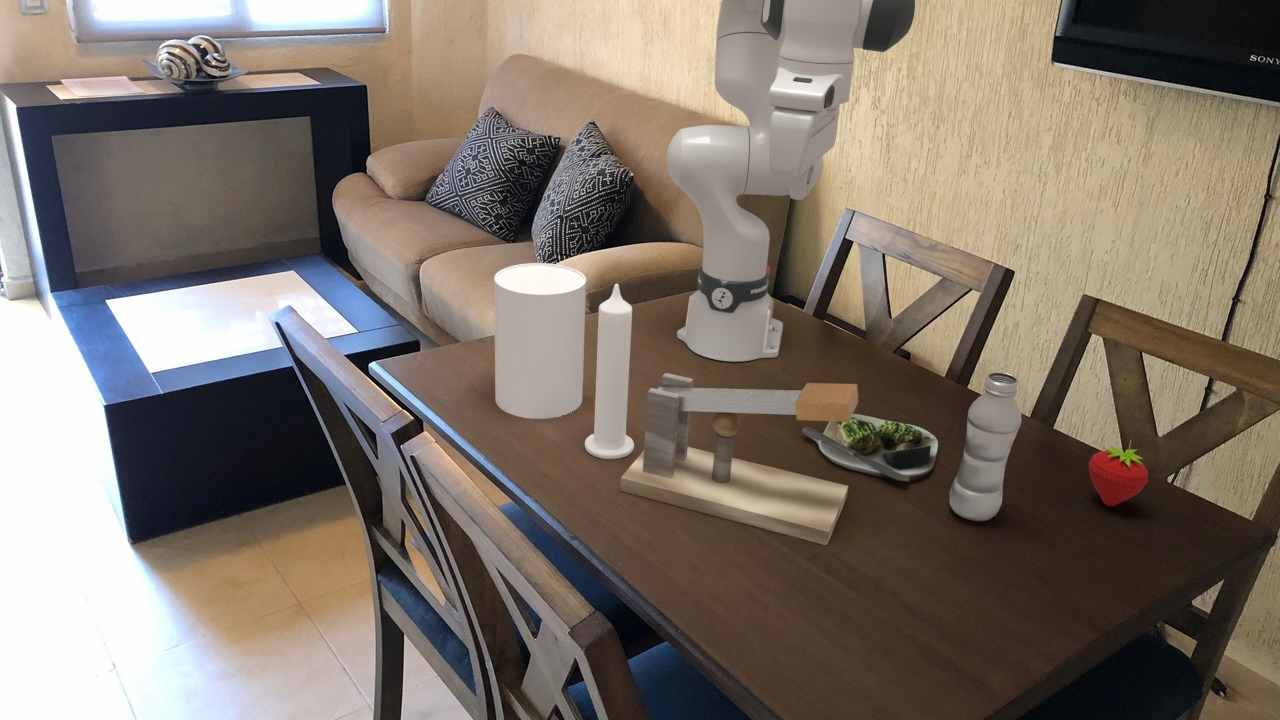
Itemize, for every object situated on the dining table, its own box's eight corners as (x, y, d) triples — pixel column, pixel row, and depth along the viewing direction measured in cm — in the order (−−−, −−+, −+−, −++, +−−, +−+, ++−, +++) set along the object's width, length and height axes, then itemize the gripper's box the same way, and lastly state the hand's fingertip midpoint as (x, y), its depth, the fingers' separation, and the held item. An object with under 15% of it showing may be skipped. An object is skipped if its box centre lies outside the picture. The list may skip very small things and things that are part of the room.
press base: (653, 450, 144) (659, 362, 138) (846, 498, 135) (861, 406, 129) (620, 490, 134) (625, 397, 128) (826, 545, 125) (842, 447, 119)
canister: (479, 407, 153) (477, 284, 145) (519, 373, 165) (519, 257, 157) (560, 426, 149) (563, 300, 141) (595, 389, 161) (600, 272, 153)
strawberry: (1089, 486, 141) (1106, 423, 137) (1144, 508, 137) (1164, 444, 133) (1072, 501, 137) (1089, 437, 133) (1128, 524, 133) (1148, 459, 129)
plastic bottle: (936, 504, 135) (964, 370, 126) (977, 497, 137) (1007, 364, 129) (966, 531, 129) (997, 392, 121) (1008, 523, 132) (1042, 386, 123)
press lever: (664, 396, 136) (662, 380, 135) (858, 401, 126) (857, 384, 125) (648, 414, 131) (646, 397, 130) (848, 421, 121) (847, 403, 120)
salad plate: (787, 463, 143) (790, 435, 141) (817, 412, 158) (820, 386, 157) (924, 498, 137) (930, 468, 135) (942, 441, 152) (947, 414, 150)
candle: (628, 462, 140) (637, 296, 130) (579, 455, 142) (584, 289, 131) (638, 439, 147) (647, 278, 136) (591, 432, 148) (597, 272, 138)
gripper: (807, 70, 129) (795, 175, 135) (764, 92, 112) (752, 212, 118) (856, 75, 127) (841, 182, 133) (820, 99, 110) (804, 221, 116)
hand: (799, 197), depth 125 cm, fingers closed
